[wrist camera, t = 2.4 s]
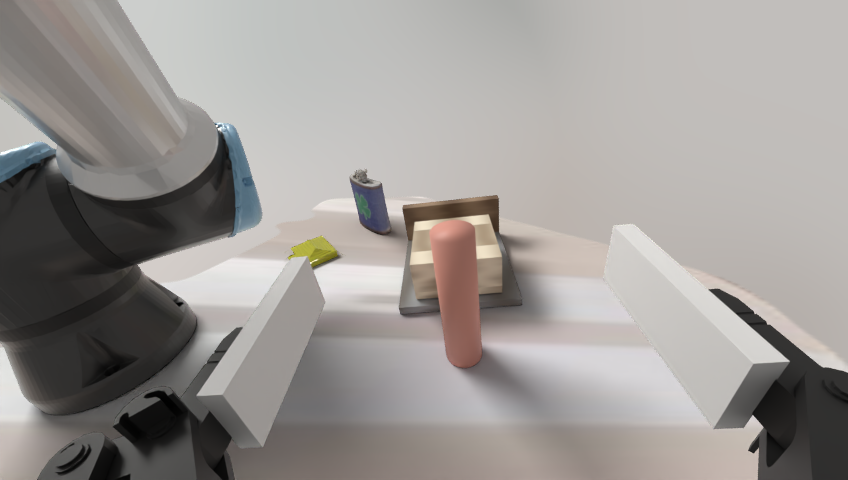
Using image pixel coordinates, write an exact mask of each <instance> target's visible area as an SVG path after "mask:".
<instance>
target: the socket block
mask: <svg viewBox="0 0 848 480" xmlns="http://www.w3.org/2000/svg"><path fill="white" fill-rule="evenodd" d="M449 220H462V221H466V222H469V223H471V224H472V225H473V226H474V227H475V236H476V254H477V272H478V290H479V294H489V293H502V255H501V252H500V248H499V245H498V242H497V239H496V236H495V233H494V230H493V227H492V224H491V220H490V217H489V214H487V215H478V216H468V217H458V218H449V219H439V220H429V221H420V222H415V224H414V232H413V241H412V249H411V258H410V270H411V275H412V280H413V285H414V290H415V296H416V299H427V298H438V291H437V284H436V277H435V270H434V263H433V256H432V249H431V242H430V235H429V232H430V230H431V228H432V227H433V226H435V225H437V224H439V223H441V222H444V221H449Z"/></svg>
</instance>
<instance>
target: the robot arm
mask: <svg viewBox="0 0 848 480" xmlns="http://www.w3.org/2000/svg"><path fill="white" fill-rule="evenodd" d="M0 98H1V99H3V100H4V101H5V102H6V103H8V104H9V105H10V106H11V107H12V108H14V109H15V110H16V111H17V112H18V113H20V114H21V115H22V116H23V117H24V118H26V119H27V120H28V121H29V122H31V123H32V124H33V125H34V126H35V127H37V128H38V129H39V130H40V131H42V132H43V133H44V134H45V135H46V136H48V137H49V138H50V139H51V140H53V141H54V142H55V143H56V144H57V150H55V149H53V148H51V147H50V146H49V145H47V144H46V143H43V142H34V143H31V144H27V145H24V146H21V147H18V148H14V149H11V150H8V151H4V152H2V153H0V343H1V344H2V345H3V347H4V348H5V351H6V353H7V356H8V359H9V361H10V364H11V366H12V369H13V371H14V374H15V376H16V379H17V381H18V384H19V386H20V389H21V392H22V394H23V395H24V397H25V398H26V399H27V400H28V401H29V402H31V403H32V404H33V405H35V406H36V407H37V408H39V409H40V410H41V411H43V412H44V413H47V414H52V415H64V414H71V413H76V412H80V411H84V410H87V409H90V408H93V407H96V406H98V405H101V404H103V403H105V402H108V401H110V400H112V399H114V398H116V397H118V396H120V395H122V394H124V393H126V392H128V391H129V390H131V389H133V388H134V387H136V386H138V385H139V384H141V383H142V382H144V381H145V380H147V379H148V378H150V377H151V376H152V375H154V374H155V373H157V372H158V371H159V370H160V369H162V368H163V367H164V366H165V365H166V364H168V363H169V362H170V361H171V360H172V359H173V358H174V357H175V356H176V355H177V354H178V353H179V352H180V351H181V350H182V349H183V347H184V346H185V345H186V344H187V342H188V341H189V339H190V338H191V336H192V334H193V332H194V330H195V327H196V316H195V314H194V313H193V311H192V310H191V308H190V307H189V306H188V304H187V303H186V302H185V301H184V300H183V299H182V298H180V297H178V296H177V295H175V294H174V293H172V292H171V291H169V290H168V289H166V288H165V287H163V286H161V285H160V284H158V283H157V282H155V281H154V280H152V279H151V278H149V277H147V276H146V275H145V274H144V273H143V272H142V271H141V269H140V268H139V267H138V265H137V264H141V263H143V262H146V261H150V260H153V259H156V258H160V257H163V256H166V255H169V254H172V253H176V252H179V251H182V250H185V249H189V248H192V247H196V246H199V245H202V244H206V243H209V242H212V241H216V240H219V239H223V238H226V237H233V236H235V235H236V234H237V233H239V232H242V231H245V230H247V229H250V228H253V227H255V226H256V225H258V224H259V222H260V221H261V219H262V209H261V205H260V201H259V197H258V194H257V191H256V187H255V185H254V181H253V179H252V175H251V172H250V168H249V164H248V161H247V158H246V155H245V153H244V149H243V146H242V144H241V141H240V138H239V135H238V133H237V131H236V129H235V127H234V126H233V125H231V124H228V123H214V122H213V121H212V119H211V118H210V117H209V115H208V114H207V113H206V112H205V111H204V110H203V109H202V108H200V107H199V106H197V105H195V104H194V103H192V102H189V101H187V100H185V99H182V98H179V97H177V96H176V94H175V93H174V91H173V90H172V88H171V86H170V85H169V83H168V82H167V80H166V78H165V77H164V75H163V74H162V72H161V70H160V69H159V67H158V65H157V64H156V62H155V61H154V59H153V58H152V56H151V54H150V53H149V51H148V49H147V48H146V46H145V44H144V43H143V41H142V40H141V38H140V36H139V35H138V33H137V32H136V30H135V28H134V27H133V25H132V24H131V22H130V20H129V19H128V17H127V15H126V14H125V13H124V11H123V9H122V7H121V6H120V4H119V3H118V1H117V0H0ZM603 279H604V281H605V282H606V284H607V285H608V286H609V288H610V289H611V290H612V292H613V293H614V294H615V296H616V297H617V299H618V300H619V301H620V303H621V304H622V305H623V307H624V308H625V309H626V311H627V312H628V314H629V315H630V316H631V318H632V319H633V320H634V322H635V323H636V324H637V326H638V327H639V328H640V330H641V331H642V333H643V334H644V335H645V337H646V338H647V339H648V341H649V342H650V343H651V345H652V346H653V348H654V349H655V350H656V352H657V353H658V354H659V356H660V357H661V358H662V360H663V361H664V362H665V364H666V365H667V367H668V368H669V369H670V371H671V372H672V373H673V375H674V376H675V377H676V379H677V380H678V382H679V383H680V384H681V386H682V387H683V388H684V390H685V391H686V392H687V394H688V395H689V396H690V398H691V399H692V401H693V402H694V403H695V405H696V406H697V407H698V409H699V410H700V411H701V413H702V414H703V416H704V417H705V418H706V420H707V421H708V422H709V424H710V425H711V426H712V428H713V429H724V428H744V426H745V425H746V424H747V422H748V421H749V419H750V418H751V416H752V415H754V417H755V418H756V419H757V420H758V421H759V422H760V423H761V425H762V426H763V427H764V428H763V429H762V431H761V432H760V433H759V434H758V436H757V437H756V438H755V440H754V441H753V442H752V444H751V445H750V448H749V450H748V451H750V452H752V453H755V451H756V450H757V449H758V447H759V463H758V480H848V373H847V372H844V371H840V370H836V369H832V368H823V367H821V366H820V365H818V364H817V363H816V362H815V361H813V360H812V359H811V358H810V357H809V356H807V355H806V354H805V353H804V352H803V351H801V350H800V349H799V348H798V347H796V346H795V345H794V344H793V343H792V342H790V341H789V340H788V339H787V338H785V337H784V336H783V335H782V334H781V333H779V332H778V331H777V330H776V329H774V328H773V327H772V326H771V325H767V323H766V321H765V320H764V319H762V318H761V317H760V316H759V315H757V314H754V311H753V310H751V309H750V308H749V307H748V306H746V305H745V304H744V303H743V302H742V301H740V300H739V299H738V298H736V297H734V296H732V295H730V294H728V293H726V292H724V291H722V290H720V289H709V290H708V289H707V288H706V287H704V286H703V285H702V284H701V283H700V282H699V281H698V280H696V279H695V278H694V277H693V276H692V275H691V274H690V273H688V272H687V271H686V270H685V269H684V268H683V267H682V266H681V265H679V264H678V263H677V262H676V261H675V260H673V259H672V258H671V257H670V256H669V255H668V254H667V253H666V252H665V251H663V250H662V249H661V248H660V247H659V246H658V245H657V244H655V243H654V242H653V241H652V240H651V239H650V238H649V237H647V236H646V235H645V234H644V233H643V232H642V231H641V230H639V229H638V228H637V227H636V226H635V225H634V224H626V225H616V226H613V230H612V235H611V241H610V245H609V250H608V255H607V260H606V265H605V271H604V276H603ZM324 304H325V300H324V297H323V295H322V292H321V290H320V287H319V284H318V282H317V279H316V277H315V274H314V272H313V269H312V267H311V264H310V261H309V259H308V256H304V257H294V258H291V259H290V260H289V262H288V263H287V265H286V266H285V268H284V269H283V270H282V272H281V273H280V275H279V276H278V278H277V279H276V281H275V282H274V284H273V285H272V286H271V288H270V289H269V291H268V292H267V294H266V295H265V297H264V298H263V300H262V301H261V302H260V304H259V305H258V307H257V308H256V310H255V311H254V313H253V314H252V316H251V317H250V318H249V320H248V321H247V323H246V324H245V326H244V327H240V328H236V329H235V330H233V331H232V332H231V333H230V334H229V335H228V336H226V337H225V338H224V339H223V340H222V342H221V343H220V345H219V346H218V347H217V349H216V350H215V353H214V354H212V356H211V357H210V358H209V360H208V361H207V364H205V365H204V367H203V368H202V369H201V371H200V372H199V373H198V375H197V376H196V378H195V379H194V380H193V382H192V383H191V384H190V386H189V387H188V388H187V390H186V391H185V393H184V394H183V395H182V397H181V398H179V397H178V396H177V395H176V394H175V393H174V391H173V390H172V389H171V388H169V387H166V386H161V387H155V388H153V389H150V390H148V391H146V392H144V393H142V394H141V395H139V396H137V397H136V398H134V399H133V400H132V401H131V402H130V403H128V404H127V405H126V406H125V407H124V408H123V409H122V410H121V412H120V413H119V414H118V416H117V417H116V418H115V421H114V424H113V427H114V428H115V429H116V430H117V431H118V432H120V433H121V434H122V435H123V436H121V437H119V438H116V439H113V440H110V439H109V438H108V437H106V436H105V435H104V434H103V433H100V432H93V433H89V434H86V435H83V436H81V437H79V438H77V439H76V440H74V441H72V442H71V443H69V444H68V445H66V446H65V447H64V448H62V449H61V450H60V451H59V452H58V453H57V454H56V455H55V456H54V457H53V458H52V459H50V460H49V462H48V463H47V464H46V466H45V467H44V469H43V470H42V471H41V473H40V475H39V477H38V479H37V480H235V478H234V474H233V469H232V465H231V460H230V456H229V454H228V453H227V451H226V448H227V446H228V444H229V443H230V441H231V439H232V440H233V441H234V442H235V443H236V444H237V446H238V447H239V448H261V447H263V446H264V443H265V441H266V439H267V436H268V434H269V432H270V429H271V427H272V425H273V423H274V420H275V418H276V416H277V413H278V411H279V409H280V406H281V404H282V402H283V399H284V397H285V395H286V392H287V390H288V388H289V385H290V383H291V381H292V378H293V376H294V374H295V372H296V369H297V367H298V365H299V362H300V360H301V358H302V355H303V353H304V351H305V348H306V346H307V344H308V341H309V339H310V337H311V334H312V332H313V330H314V327H315V325H316V323H317V321H318V318H319V316H320V314H321V311H322V309H323V307H324Z"/></svg>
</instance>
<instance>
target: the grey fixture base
mask: <svg viewBox="0 0 848 480" xmlns="http://www.w3.org/2000/svg"><path fill="white" fill-rule="evenodd" d="M403 214H404V220H405V225H406V230H407V236H408V246H407V254H406V261H405V268H404V275H403V282H402V290H401V297H400V304H399V310H400V314H409V313H422V312H435V311H440V305H439V298H427V299H416V296H415V290H414V285H413V280H412V275H411V270H410V258H411V249H412V241H413V232H414V224H415V222H420V221H429V220H439V219H449V218H458V217H468V216H478V215H487V214H489V217H490V220H491V224H492V227H493V230H494V233H495V236H496V239H497V242H498V245H499V248H500V252H501V255H502V293H489V294H479V308H488V307H501V306H515V305H522V297H521V294H520V291H519V288H518V285H517V282H516V279H515V276H514V274H513V271H512V268H511V265H510V262H509V259H508V256H507V253H506V251H505V248H504V245H503V242H502V239H501V236H500V233H499V198H498V196H497V195H494V196H486V197H475V198H466V199H457V200H448V201H439V202H429V203H420V204H411V205H403Z"/></svg>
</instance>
